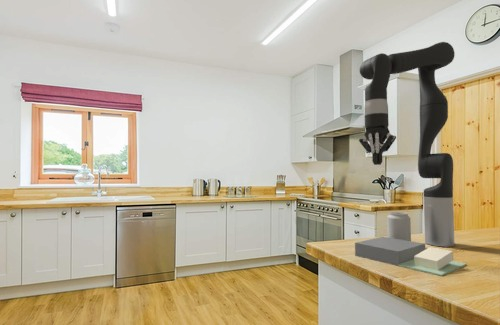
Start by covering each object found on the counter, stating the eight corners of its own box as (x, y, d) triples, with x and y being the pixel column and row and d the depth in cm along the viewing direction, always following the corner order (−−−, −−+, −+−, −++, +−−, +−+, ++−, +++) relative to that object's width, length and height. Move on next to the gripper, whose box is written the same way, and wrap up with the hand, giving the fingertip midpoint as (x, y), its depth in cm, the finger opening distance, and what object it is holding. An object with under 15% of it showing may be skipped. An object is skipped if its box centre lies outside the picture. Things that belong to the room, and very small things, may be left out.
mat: (425, 256, 95) (425, 255, 95) (466, 264, 86) (466, 263, 86) (398, 265, 86) (398, 264, 86) (441, 276, 77) (441, 274, 77)
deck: (383, 248, 106) (382, 236, 107) (425, 256, 95) (425, 243, 95) (355, 255, 97) (354, 242, 97) (398, 265, 86) (398, 251, 86)
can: (414, 249, 105) (413, 214, 105) (390, 248, 106) (389, 213, 107) (407, 244, 112) (406, 211, 112) (385, 243, 113) (384, 211, 114)
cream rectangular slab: (452, 251, 85) (453, 263, 85) (430, 246, 90) (431, 258, 90) (436, 261, 80) (438, 274, 80) (413, 256, 85) (415, 268, 85)
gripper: (400, 112, 102) (402, 164, 101) (365, 118, 113) (366, 165, 112) (388, 109, 98) (390, 163, 97) (353, 116, 108) (354, 165, 108)
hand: (377, 164), depth 104 cm, fingers closed
